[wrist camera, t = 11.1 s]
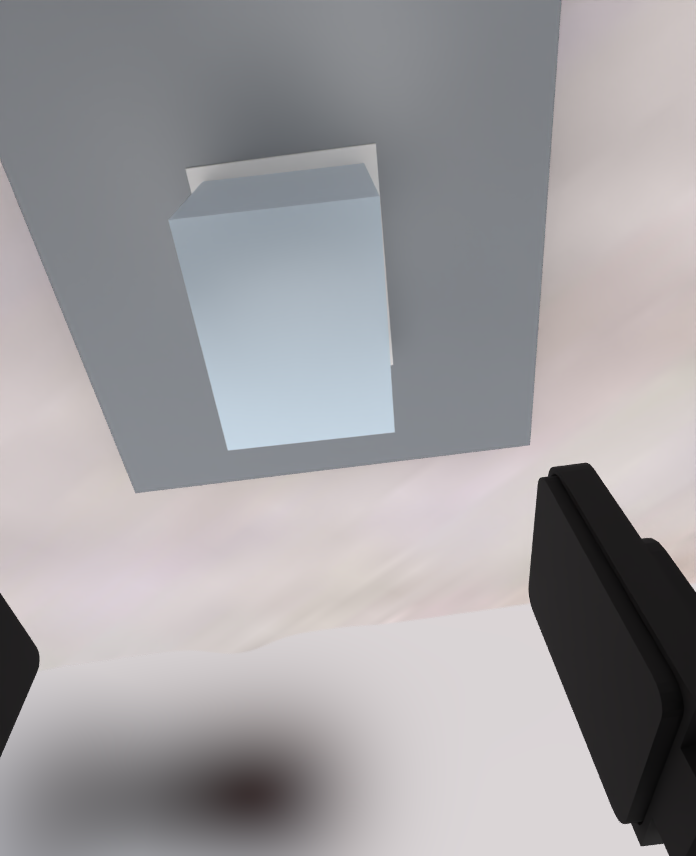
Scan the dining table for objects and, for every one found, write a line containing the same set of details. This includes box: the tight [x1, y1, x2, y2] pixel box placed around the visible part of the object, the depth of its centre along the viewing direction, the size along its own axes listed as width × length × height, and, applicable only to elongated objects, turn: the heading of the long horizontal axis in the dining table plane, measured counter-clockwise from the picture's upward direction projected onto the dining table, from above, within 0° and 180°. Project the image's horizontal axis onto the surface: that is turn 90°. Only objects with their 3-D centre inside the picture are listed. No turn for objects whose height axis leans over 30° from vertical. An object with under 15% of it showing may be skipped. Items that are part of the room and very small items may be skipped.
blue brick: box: [168, 163, 395, 451], centre depth 21 cm, size 8×6×6 cm
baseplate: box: [0, 0, 561, 493], centre depth 24 cm, size 20×20×1 cm
